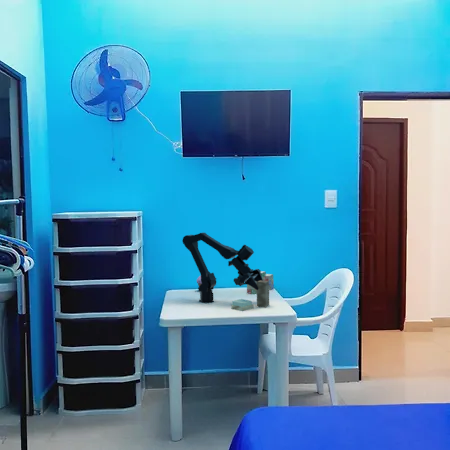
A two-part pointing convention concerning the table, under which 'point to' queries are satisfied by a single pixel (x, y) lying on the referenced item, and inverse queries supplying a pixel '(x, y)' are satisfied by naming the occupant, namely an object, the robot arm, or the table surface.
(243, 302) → the green slab
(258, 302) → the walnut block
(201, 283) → the cupcake
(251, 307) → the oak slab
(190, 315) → the table surface
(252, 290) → the stack of blocks
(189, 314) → the table surface
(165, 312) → the table surface
